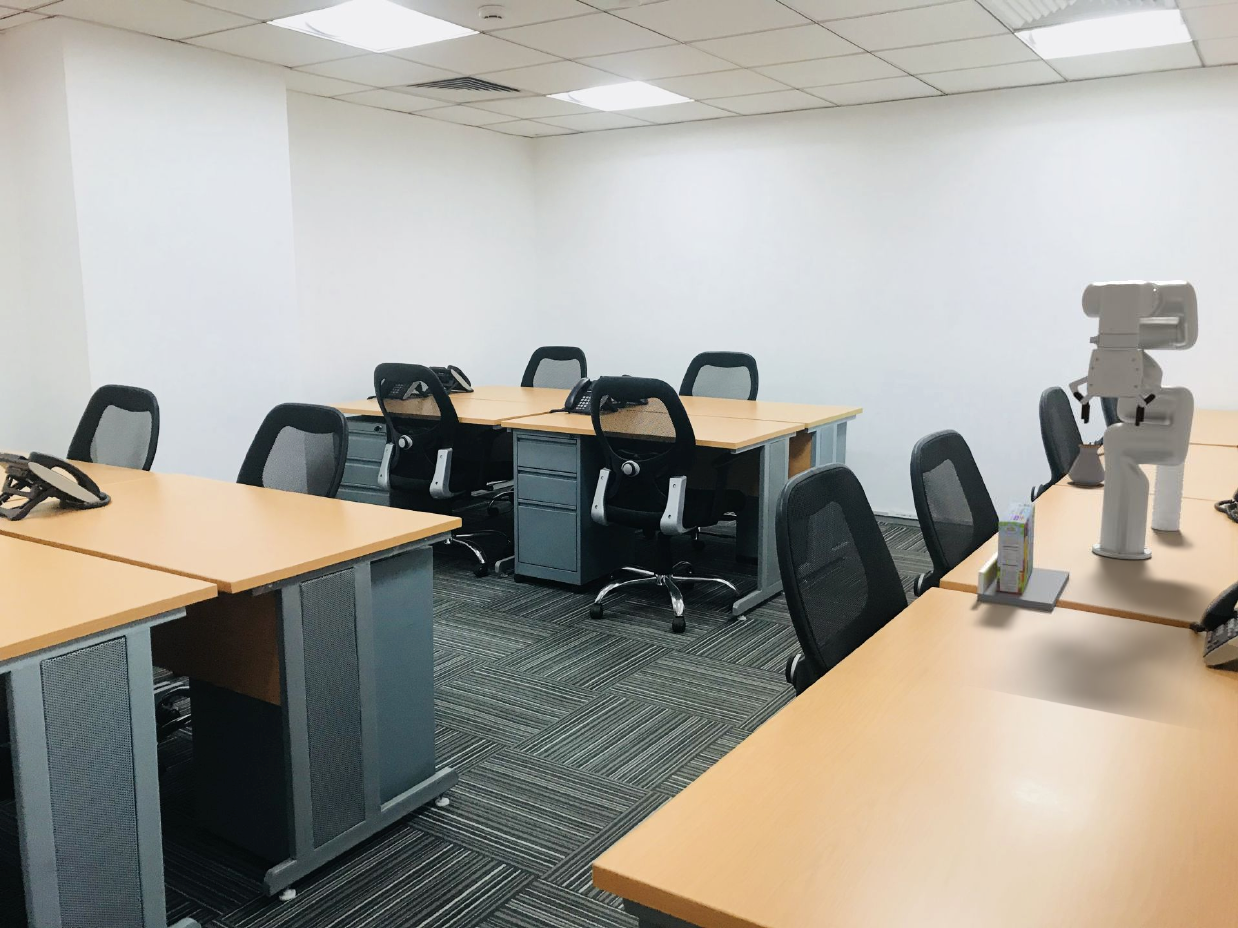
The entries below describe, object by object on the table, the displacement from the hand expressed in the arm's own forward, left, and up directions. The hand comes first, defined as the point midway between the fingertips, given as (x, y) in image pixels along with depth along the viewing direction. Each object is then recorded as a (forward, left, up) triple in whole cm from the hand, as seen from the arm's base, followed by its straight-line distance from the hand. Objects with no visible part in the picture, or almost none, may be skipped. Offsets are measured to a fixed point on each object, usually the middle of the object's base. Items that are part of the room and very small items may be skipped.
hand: (1111, 424), depth 199 cm
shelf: (+14, -13, -34) cm, 39 cm away
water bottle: (-63, +10, -34) cm, 73 cm away
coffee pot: (-122, -10, -34) cm, 128 cm away
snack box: (+14, -15, -33) cm, 39 cm away
